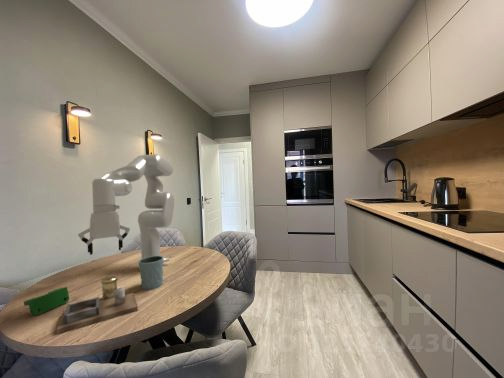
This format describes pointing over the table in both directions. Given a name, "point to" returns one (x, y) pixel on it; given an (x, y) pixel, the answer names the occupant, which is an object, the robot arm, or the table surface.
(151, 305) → the table surface
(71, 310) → the fitting board
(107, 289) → the brass door knob
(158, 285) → the grey-green cup
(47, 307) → the clamp
